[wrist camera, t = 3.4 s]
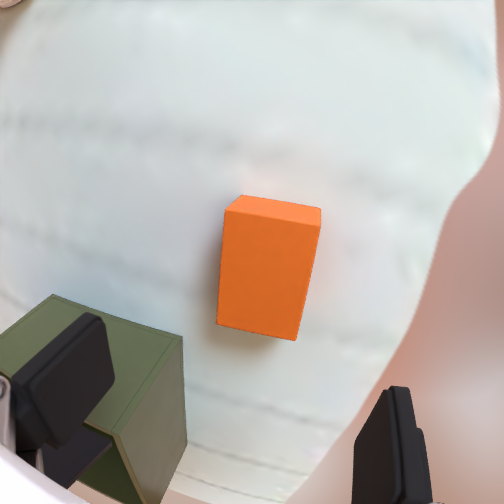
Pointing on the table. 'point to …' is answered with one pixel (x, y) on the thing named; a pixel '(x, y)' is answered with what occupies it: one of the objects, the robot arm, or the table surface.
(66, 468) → the flap
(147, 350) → the olive green hollow box
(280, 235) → the block
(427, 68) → the table surface
